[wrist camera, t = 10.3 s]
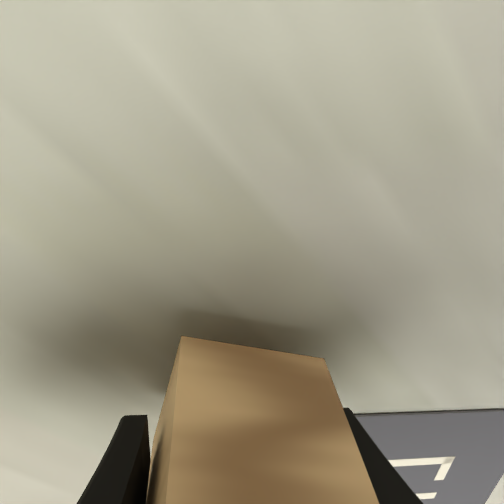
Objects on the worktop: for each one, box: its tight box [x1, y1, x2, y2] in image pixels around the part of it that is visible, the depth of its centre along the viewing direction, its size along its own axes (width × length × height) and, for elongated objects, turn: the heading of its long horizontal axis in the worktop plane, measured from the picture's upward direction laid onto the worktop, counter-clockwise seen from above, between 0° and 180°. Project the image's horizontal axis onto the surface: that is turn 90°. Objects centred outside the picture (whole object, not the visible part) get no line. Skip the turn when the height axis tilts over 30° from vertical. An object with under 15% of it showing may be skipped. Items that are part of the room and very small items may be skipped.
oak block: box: [146, 336, 379, 504], centre depth 10 cm, size 4×4×5 cm
